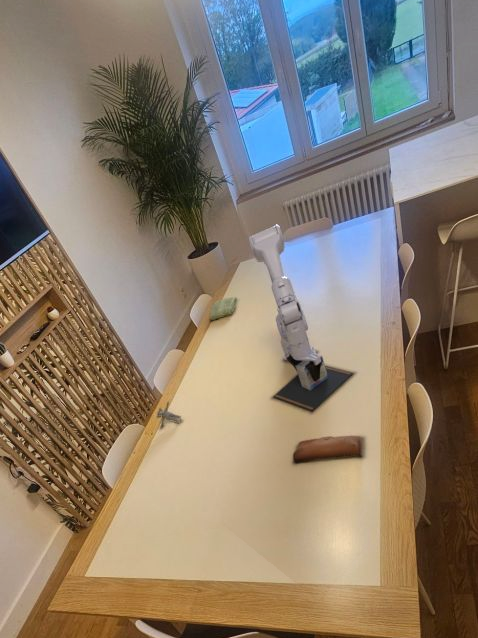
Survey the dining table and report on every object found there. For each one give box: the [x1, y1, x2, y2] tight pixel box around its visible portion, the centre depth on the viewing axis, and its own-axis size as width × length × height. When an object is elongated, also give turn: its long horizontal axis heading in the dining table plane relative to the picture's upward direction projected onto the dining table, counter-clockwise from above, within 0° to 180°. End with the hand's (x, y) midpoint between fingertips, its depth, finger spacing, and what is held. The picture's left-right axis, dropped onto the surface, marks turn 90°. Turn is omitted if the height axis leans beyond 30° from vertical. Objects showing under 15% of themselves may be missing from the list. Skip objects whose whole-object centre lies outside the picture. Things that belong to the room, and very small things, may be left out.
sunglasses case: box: [292, 435, 363, 463], centre depth 112 cm, size 18×7×7 cm
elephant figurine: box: [156, 401, 182, 429], centre depth 150 cm, size 10×6×9 cm
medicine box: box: [295, 353, 328, 390], centre depth 133 cm, size 8×4×9 cm, turn 122°
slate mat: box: [272, 365, 354, 413], centre depth 136 cm, size 18×20×1 cm
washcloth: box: [209, 296, 238, 321], centre depth 204 cm, size 13×18×3 cm
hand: (309, 376), depth 133 cm, fingers open, 7 cm apart
